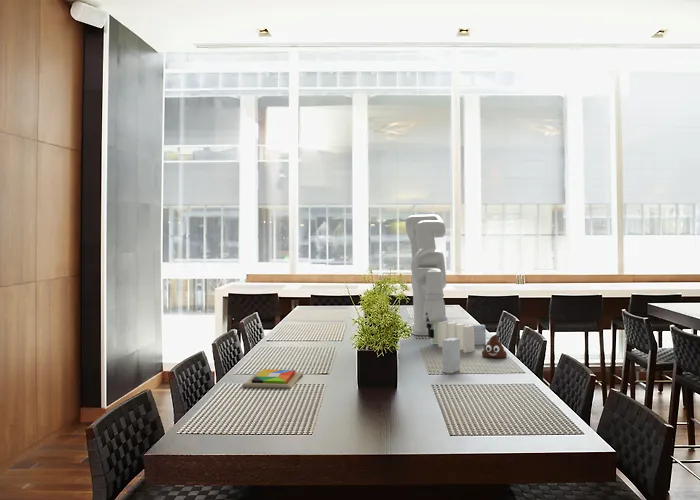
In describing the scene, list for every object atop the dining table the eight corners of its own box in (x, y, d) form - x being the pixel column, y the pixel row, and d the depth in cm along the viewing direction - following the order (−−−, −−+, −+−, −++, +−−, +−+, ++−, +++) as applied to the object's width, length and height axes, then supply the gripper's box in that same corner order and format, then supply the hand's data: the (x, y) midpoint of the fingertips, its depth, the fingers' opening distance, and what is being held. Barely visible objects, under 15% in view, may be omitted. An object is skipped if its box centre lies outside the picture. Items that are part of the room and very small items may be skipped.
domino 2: (438, 346, 264) (437, 322, 263) (446, 345, 267) (445, 320, 266) (440, 347, 262) (440, 322, 262) (448, 345, 265) (448, 321, 265)
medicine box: (484, 343, 269) (484, 324, 268) (486, 345, 264) (485, 326, 264) (467, 343, 269) (466, 324, 269) (468, 345, 265) (467, 326, 265)
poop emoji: (508, 355, 242) (508, 333, 242) (504, 360, 235) (504, 336, 234) (484, 354, 247) (483, 331, 246) (479, 358, 239) (479, 335, 238)
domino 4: (454, 350, 255) (454, 324, 255) (462, 348, 258) (462, 323, 258) (457, 350, 254) (456, 325, 253) (465, 349, 257) (465, 324, 256)
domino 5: (463, 352, 251) (462, 326, 250) (471, 350, 254) (471, 325, 253) (466, 352, 250) (465, 326, 249) (474, 351, 252) (474, 325, 252)
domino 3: (446, 348, 259) (445, 323, 259) (454, 346, 262) (454, 322, 262) (448, 348, 258) (448, 323, 258) (457, 347, 261) (456, 322, 261)
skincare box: (450, 368, 222) (449, 337, 221) (460, 370, 219) (460, 338, 219) (441, 372, 217) (441, 339, 217) (452, 374, 214) (451, 340, 214)
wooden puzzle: (241, 389, 202) (240, 379, 202) (258, 375, 221) (258, 366, 221) (290, 390, 199) (290, 380, 199) (304, 376, 218) (303, 367, 218)
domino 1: (430, 343, 268) (429, 319, 268) (438, 342, 271) (438, 318, 270) (432, 344, 267) (432, 319, 266) (440, 342, 269) (440, 318, 269)
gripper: (442, 294, 276) (443, 333, 277) (415, 298, 266) (415, 338, 267) (453, 296, 270) (454, 335, 270) (426, 299, 260) (427, 340, 261)
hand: (435, 336), depth 269 cm, fingers closed on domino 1, 4 cm apart
